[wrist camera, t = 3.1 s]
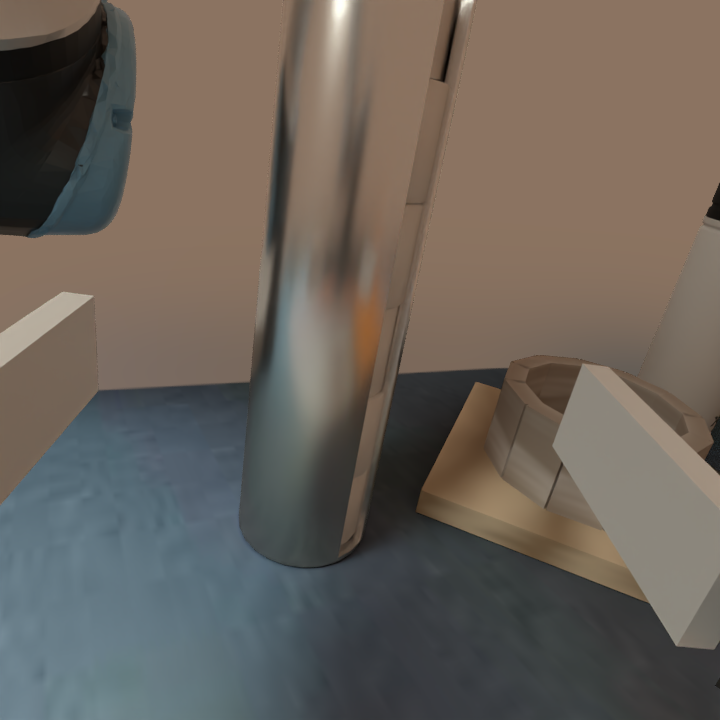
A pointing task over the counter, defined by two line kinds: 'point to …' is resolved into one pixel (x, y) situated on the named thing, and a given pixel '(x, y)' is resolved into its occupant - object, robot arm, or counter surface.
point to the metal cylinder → (341, 258)
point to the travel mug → (692, 328)
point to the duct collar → (536, 470)
